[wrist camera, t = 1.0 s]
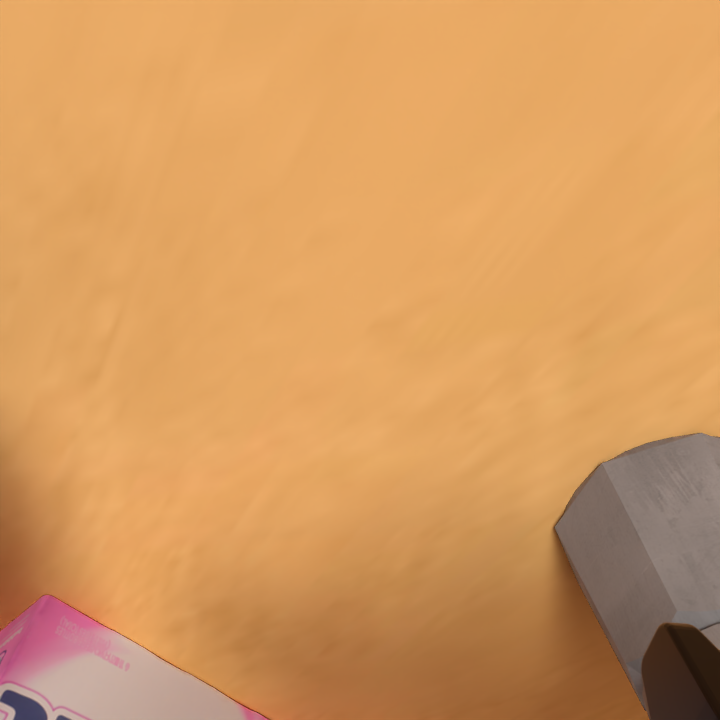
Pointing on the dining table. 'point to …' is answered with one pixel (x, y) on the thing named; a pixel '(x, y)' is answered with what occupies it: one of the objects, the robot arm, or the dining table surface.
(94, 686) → the gum box
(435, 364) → the dining table surface
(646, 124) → the dining table surface
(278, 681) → the dining table surface
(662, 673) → the robot arm
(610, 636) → the coffeepot
